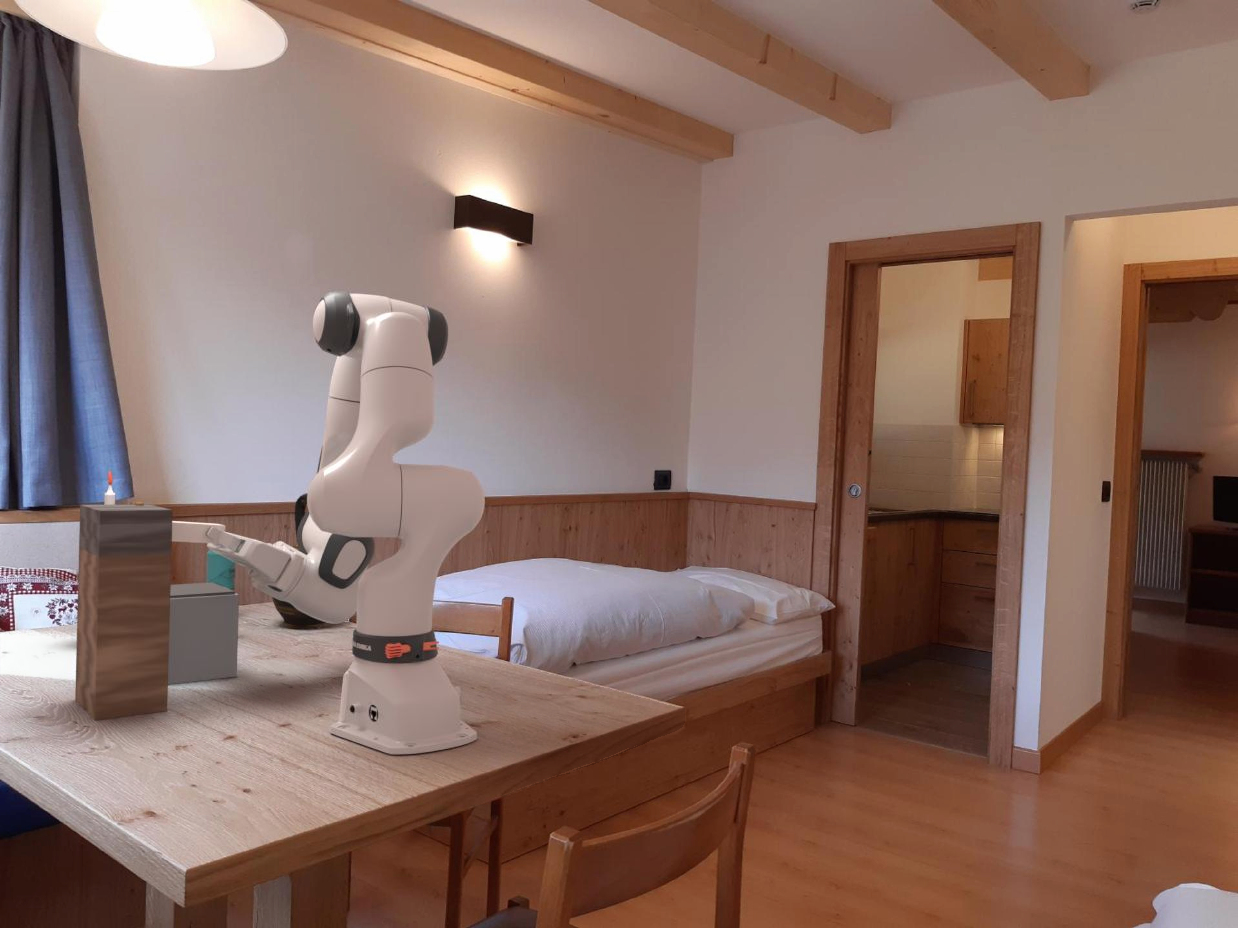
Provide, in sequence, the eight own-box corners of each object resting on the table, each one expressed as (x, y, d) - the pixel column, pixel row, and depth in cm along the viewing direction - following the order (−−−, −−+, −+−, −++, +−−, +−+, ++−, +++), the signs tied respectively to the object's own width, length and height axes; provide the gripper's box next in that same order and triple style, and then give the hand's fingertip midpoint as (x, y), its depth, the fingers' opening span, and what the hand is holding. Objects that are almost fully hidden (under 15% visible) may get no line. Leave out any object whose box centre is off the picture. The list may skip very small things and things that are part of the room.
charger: (223, 543, 161) (225, 525, 161) (113, 538, 151) (115, 518, 151) (216, 541, 164) (218, 523, 164) (107, 536, 154) (110, 516, 154)
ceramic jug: (355, 626, 226) (359, 495, 225) (293, 634, 214) (297, 496, 214) (315, 616, 237) (318, 491, 237) (254, 623, 226) (258, 492, 225)
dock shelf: (236, 676, 175) (239, 591, 175) (138, 687, 165) (141, 597, 165) (211, 661, 186) (214, 581, 186) (118, 671, 176) (120, 587, 175)
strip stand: (167, 710, 152) (172, 507, 151) (94, 720, 145) (100, 508, 145) (143, 691, 162) (148, 501, 162) (75, 699, 156) (80, 502, 156)
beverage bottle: (202, 621, 225) (204, 534, 225) (206, 616, 232) (208, 531, 231) (232, 621, 227) (235, 534, 227) (235, 616, 233) (238, 531, 233)
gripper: (263, 546, 178) (195, 508, 170) (308, 558, 162) (234, 517, 154) (245, 577, 176) (174, 540, 168) (288, 592, 160) (212, 552, 152)
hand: (203, 529), depth 161 cm, fingers closed on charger, 4 cm apart
